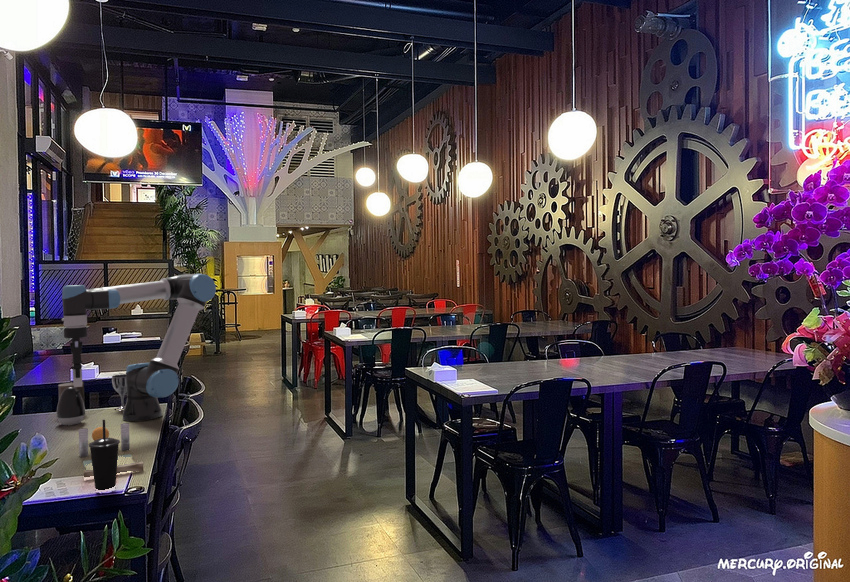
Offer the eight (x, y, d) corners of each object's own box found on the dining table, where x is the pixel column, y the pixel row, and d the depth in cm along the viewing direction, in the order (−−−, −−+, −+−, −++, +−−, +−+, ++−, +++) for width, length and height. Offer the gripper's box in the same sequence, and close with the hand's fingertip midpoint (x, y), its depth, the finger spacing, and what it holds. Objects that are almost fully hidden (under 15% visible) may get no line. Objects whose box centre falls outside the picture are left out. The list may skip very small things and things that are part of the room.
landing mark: (130, 454, 207) (130, 453, 207) (136, 465, 195) (136, 464, 195) (82, 461, 199) (82, 461, 199) (85, 473, 187) (85, 472, 187)
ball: (108, 439, 226) (108, 424, 226) (110, 442, 221) (109, 427, 221) (91, 441, 223) (91, 426, 223) (92, 445, 218) (92, 429, 218)
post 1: (87, 454, 207) (87, 427, 207) (88, 456, 205) (87, 429, 205) (79, 455, 206) (78, 428, 206) (79, 457, 204) (78, 430, 203)
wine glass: (134, 406, 283) (133, 373, 283) (129, 410, 275) (128, 376, 275) (116, 407, 282) (115, 374, 281) (110, 411, 274) (109, 377, 273)
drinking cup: (105, 485, 176) (103, 416, 176) (127, 487, 174) (125, 417, 173) (83, 494, 169) (81, 422, 168) (105, 497, 167) (104, 424, 166)
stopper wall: (142, 469, 190) (142, 461, 190) (143, 471, 189) (143, 463, 189) (83, 479, 182) (83, 470, 182) (83, 481, 180) (83, 472, 180)
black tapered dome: (70, 427, 244) (69, 389, 243) (50, 426, 247) (49, 388, 247) (91, 421, 254) (90, 385, 253) (72, 420, 257) (71, 384, 256)
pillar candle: (88, 415, 266) (87, 380, 266) (63, 419, 259) (62, 383, 259) (80, 412, 273) (79, 378, 273) (55, 415, 266) (54, 381, 265)
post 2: (129, 448, 214) (128, 422, 214) (130, 450, 212) (129, 424, 212) (120, 449, 213) (120, 423, 212) (121, 451, 210) (121, 425, 210)
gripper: (63, 325, 237) (65, 379, 237) (63, 330, 215) (66, 390, 216) (85, 323, 240) (88, 377, 241) (88, 328, 219) (90, 388, 220)
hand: (77, 384), depth 229 cm, fingers open, 13 cm apart
